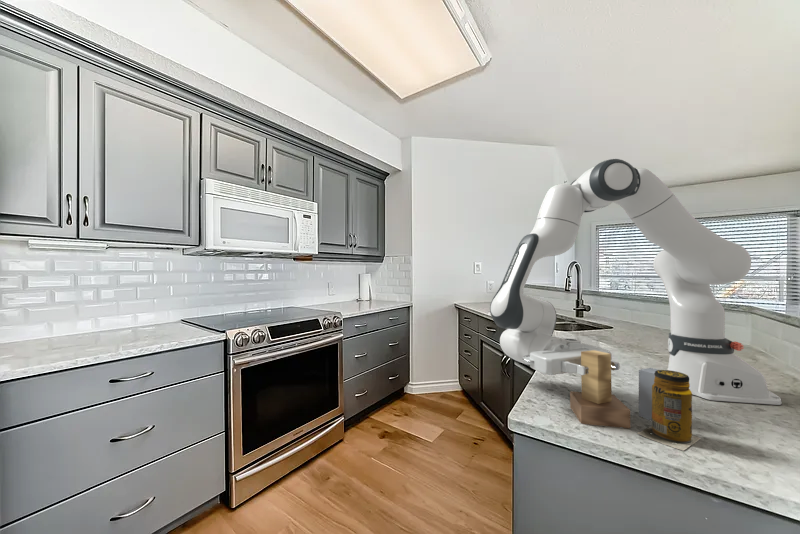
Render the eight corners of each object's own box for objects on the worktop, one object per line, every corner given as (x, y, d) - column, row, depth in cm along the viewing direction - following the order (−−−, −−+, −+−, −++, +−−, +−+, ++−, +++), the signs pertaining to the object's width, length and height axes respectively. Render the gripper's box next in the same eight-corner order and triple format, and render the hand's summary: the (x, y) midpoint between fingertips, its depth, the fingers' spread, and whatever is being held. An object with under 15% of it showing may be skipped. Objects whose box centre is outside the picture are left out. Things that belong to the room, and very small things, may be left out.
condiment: (701, 439, 65) (700, 374, 65) (683, 451, 61) (683, 382, 61) (655, 424, 71) (655, 365, 71) (636, 435, 67) (636, 372, 67)
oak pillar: (594, 395, 78) (594, 350, 78) (611, 401, 74) (610, 353, 74) (581, 397, 76) (581, 351, 76) (598, 403, 72) (597, 355, 73)
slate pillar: (650, 413, 77) (650, 367, 77) (670, 420, 73) (670, 372, 73) (638, 416, 75) (638, 369, 75) (658, 423, 72) (658, 374, 72)
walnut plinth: (613, 412, 78) (613, 394, 78) (630, 430, 69) (630, 410, 69) (570, 408, 80) (570, 391, 80) (581, 425, 71) (581, 405, 71)
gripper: (518, 344, 83) (565, 358, 70) (580, 338, 91) (633, 350, 78) (517, 371, 83) (565, 389, 70) (580, 362, 91) (633, 378, 78)
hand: (602, 368), depth 74 cm, fingers open, 8 cm apart
